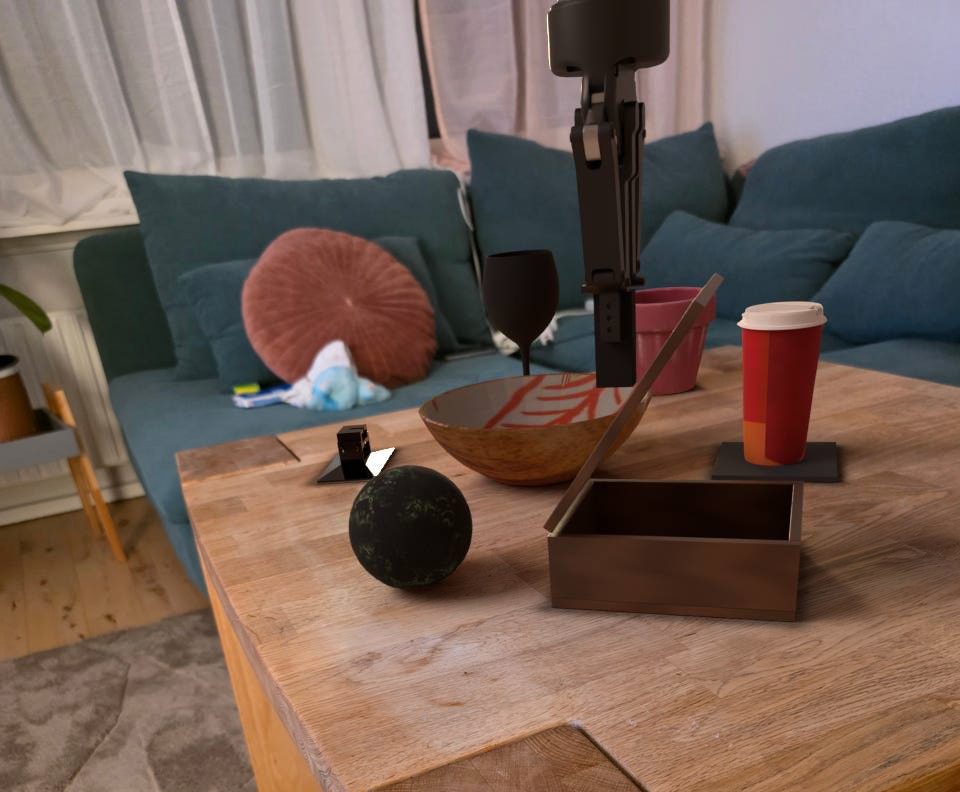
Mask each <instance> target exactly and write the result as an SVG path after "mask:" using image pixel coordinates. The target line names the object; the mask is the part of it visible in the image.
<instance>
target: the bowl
mask: <svg viewBox="0 0 960 792" xmlns="http://www.w3.org/2000/svg"><path fill="white" fill-rule="evenodd" d="M638 383H639V381H637V383H636V384H635V385H634V386H633V387H617V388H596V373H591V372H590V373H589V372H556V373H539V374H530V375H526V376H523V375H520V376H519V375H518V376H511V377H503V378H497V379H492V380H485V381H479V382H476V383H472V384H468V385H467V384H466V385H463V386H460V387H457V388H452V389H450V390H447V391H444V392H441V393H440V394H437V395H435V396H433V397H431V398H430V399H427V400H426V401H425V402H424V403H423V404H421V405H419V409H418V410H417V411H418V412H417V413H418V414H419V417H420V419H421V420H422V422H423V423H424V425H425V426H426V428H427V430H428V431H429V433H430V435H432V437H433V439H434V440H435V441H436V442H437V444H439V446H441V448H442V449H443V450H445V452H446V453H447V454H449V455H450V456H451V457H452V458H454V459H455V460H456V461H457V462H459V463H460V464H461V465H462V466H464V467H465V468H468V469H470V470H472V471H474V472H475V473H478V474H480V475H482V476H483V477H486V478H488V479H491V480H492V481H495V482H498V483H500V484H503V485H507V486H515V487H516V486H517V487H539V486H548V485H556V484H561V483H565V482H568V481H572V480H574V479H575V478H576V476H577V475H578V473H579V472H580V470H581V469H582V467H583V466H584V464H585V463H586V461H587V460H588V458H589V457H590V455H591V454H592V452H593V451H594V449H595V448H596V446H597V445H598V443H599V442H600V440H601V439H602V437H603V436H604V434H605V433H606V431H607V430H608V428H609V427H610V425H611V424H612V422H613V421H614V419H615V418H616V416H617V415H618V413H619V412H620V410H621V409H622V407H623V406H624V404H625V403H626V401H627V400H628V398H629V397H630V395H631V393H632V392H633V390H634V389H635V387H636V386H637V384H638ZM652 398H653V390H652V389H651V388H650V389H649V391H648V392H647V394H646V395H645V397H644V398H643V400H642V401H641V403H640V404H639V406H638V407H637V409H636V410H635V412H634V413H633V414H632V416H631V417H630V419H629V420H628V422H627V423H626V425H625V426H624V428H623V429H622V431H621V432H620V434H619V435H618V437H617V438H616V440H615V441H614V443H613V444H612V446H611V447H610V449H609V450H608V452H607V453H606V454H605V456H604V457H603V459H602V460H601V462H600V463H599V465H600V464H601V463H603V462H604V461H605V460H607V459H608V458H610V457H612V456H613V455H614V454H615V453H616V452H617V451H618V450H619V449H620V448H621V447H622V445H624V443H625V442H626V441H627V440H628V439H629V438H630V437H631V436H632V435H633V433H634V431H635V430H636V429H637V428H638V426H639V424H640V422H641V421H642V419H643V417H644V415H645V413H646V411H647V409H648V407H649V405H650V402H651V400H652Z"/></svg>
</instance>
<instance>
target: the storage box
mask: <svg viewBox="0 0 960 792" xmlns="http://www.w3.org/2000/svg"><path fill="white" fill-rule="evenodd" d="M804 486H805V482H804V481H749V480H711V479H655V478H653V479H652V478H650V479H649V478H589V480H588V481H587V483H586V484H585V485H584V487H583V488H582V490H581V491H580V493H579V494H578V496H577V497H576V499H575V500H574V502H573V503H572V504H571V506H570V507H569V509H568V510H567V512H566V513H565V515H564V516H563V518H562V519H561V521H560V522H559V523H558V525H557V526H556V528H555V529H554V531H553V532H552V533H550V532H549V534H548V535H547V537H546V538H547V554H548V568H549V569H548V570H549V584H550V585H549V586H550V598H551V599H550V600H551V601H550V603H551V608H560V609H575V610H576V609H577V610H578V609H579V610H589V611H590V610H592V611H606V612H607V611H609V612H625V613H628V612H629V613H641V614H642V613H644V614H658V615H659V614H660V615H675V616H677V615H678V616H690V617H691V616H692V617H707V618H708V617H711V618H726V619H741V620H744V619H745V620H759V621H777V622H796V613H797V612H796V610H797V598H798V586H799V585H798V584H799V574H800V572H799V571H800V559H801V548H802V527H803V509H804V490H805V487H804Z"/></svg>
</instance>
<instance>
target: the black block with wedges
mask: <svg viewBox="0 0 960 792" xmlns="http://www.w3.org/2000/svg"><path fill="white" fill-rule="evenodd" d="M336 440H337V442H336V444H337V451H338V454H337V455H336V456H335V457H334V459H333V460H332V461H331V463H330V464H329V465H328V466H327V467H326V468H325V470H324V471H323V472H322V473H321V474H320V476H319V477H318V479H317V480H316V481H315V483H316V484H317V485H323V484H339V483H355V482H368V481H370V480H371V479H372V478H373V477H374V476H376V475H378V474H379V473H381V472H383V471H384V468H385V467H386V465H387V463H388V462H389V460H390V458H391V457H392V455H393V454H394V452H395V451H396V449H395V447H381V448H371V441H370V434H369V430H368V425H367V424H351V425H343V426H342V427H341V428H340V429H339V430H338V431H337V432H336Z"/></svg>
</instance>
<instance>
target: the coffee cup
mask: <svg viewBox="0 0 960 792" xmlns="http://www.w3.org/2000/svg"><path fill="white" fill-rule="evenodd" d="M741 317H742V318H741V320H740V321H738V322H737V323H736V325H737V326H739V327H740V328H741V352H742V353H741V355H742V357H741V358H742V359H741V361H742V362H741V363H742V364H741V365H742V417H743V418H742V422H743V424H742V426H743V427H742V428H743V430H742V432H743V442H744V457H745V460H746V461H748V462H750V463H753V464H757V465H765V466H782V465H789V464H794V463H797V462H799V461H801V460H802V459H803V457H804V452H805V447H806V442H807V441H808V433H809V427H810V426H809V425H810V419H811V412H812V404H813V398H814V391H815V385H816V378H817V374H818V373H817V371H818V367H819V366H818V365H819V359H820V351H821V343H822V335H823V327H824V324H825V323H827V322H828V319H827V317H826V316H825V315H824V306H823V305H822V304H821V303H819V302H813V301H778V302H767V303H761V304H755V305H751V306H748V307H746V308H745V311H744V312H743V313H741Z"/></svg>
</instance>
